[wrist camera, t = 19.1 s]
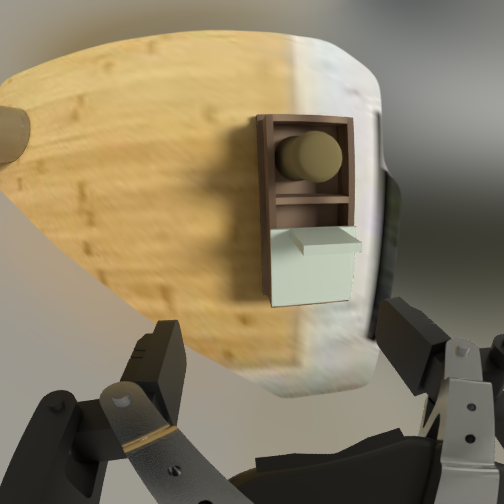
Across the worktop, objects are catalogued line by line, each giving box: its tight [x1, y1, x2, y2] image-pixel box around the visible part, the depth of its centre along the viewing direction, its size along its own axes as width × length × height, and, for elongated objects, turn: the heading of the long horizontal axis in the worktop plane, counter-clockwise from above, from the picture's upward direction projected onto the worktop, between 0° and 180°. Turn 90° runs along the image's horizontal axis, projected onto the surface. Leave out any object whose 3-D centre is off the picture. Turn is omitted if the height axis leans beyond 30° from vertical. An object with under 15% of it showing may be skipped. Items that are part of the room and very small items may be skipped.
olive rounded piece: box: [274, 131, 342, 183], centre depth 31 cm, size 6×6×11 cm
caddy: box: [256, 114, 355, 308], centre depth 36 cm, size 12×24×5 cm, turn 2°
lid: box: [270, 226, 362, 307], centre depth 32 cm, size 11×10×8 cm
